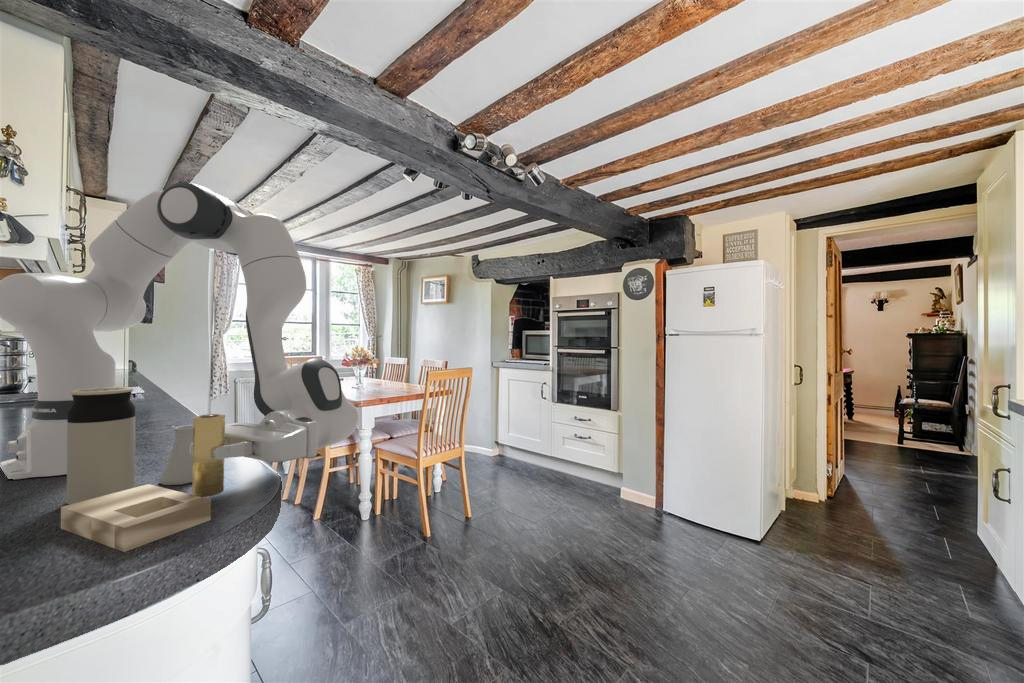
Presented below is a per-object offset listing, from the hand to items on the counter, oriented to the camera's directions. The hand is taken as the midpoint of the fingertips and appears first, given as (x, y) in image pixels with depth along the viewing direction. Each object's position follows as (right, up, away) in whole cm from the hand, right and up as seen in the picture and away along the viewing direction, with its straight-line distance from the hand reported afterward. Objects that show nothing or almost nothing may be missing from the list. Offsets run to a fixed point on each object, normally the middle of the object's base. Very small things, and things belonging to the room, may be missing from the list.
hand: (202, 451), depth 64 cm
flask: (-14, -9, +13) cm, 21 cm away
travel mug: (-20, -9, +4) cm, 22 cm away
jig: (-5, -9, -5) cm, 12 cm away
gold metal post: (0, -7, +1) cm, 7 cm away
